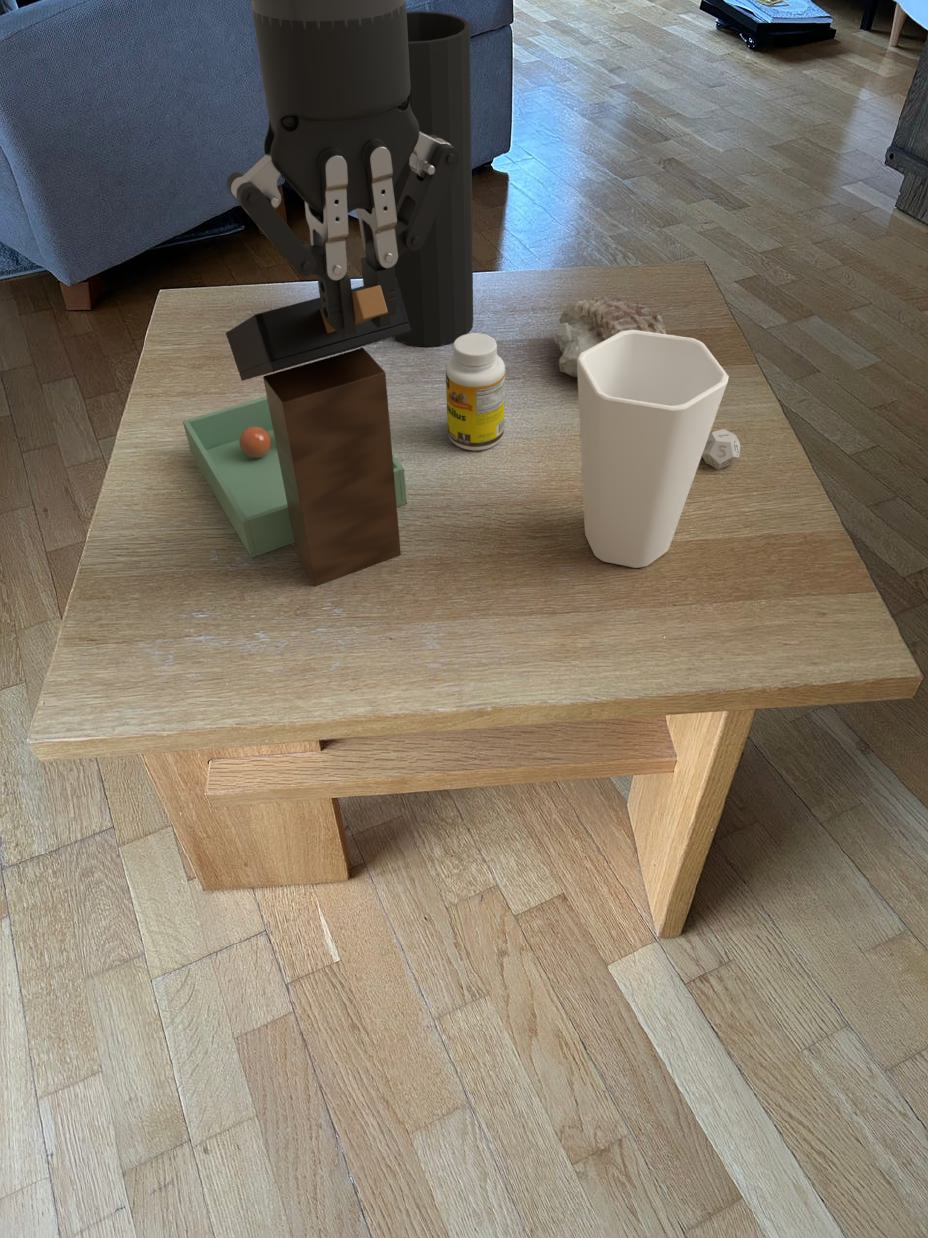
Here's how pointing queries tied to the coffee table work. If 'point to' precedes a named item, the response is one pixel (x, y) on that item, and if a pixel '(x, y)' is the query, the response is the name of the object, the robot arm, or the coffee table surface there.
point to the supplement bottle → (475, 393)
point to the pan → (309, 333)
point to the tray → (250, 475)
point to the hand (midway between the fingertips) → (362, 325)
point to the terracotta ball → (255, 442)
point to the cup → (642, 438)
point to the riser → (336, 462)
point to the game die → (721, 449)
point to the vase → (445, 261)
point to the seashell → (599, 326)
